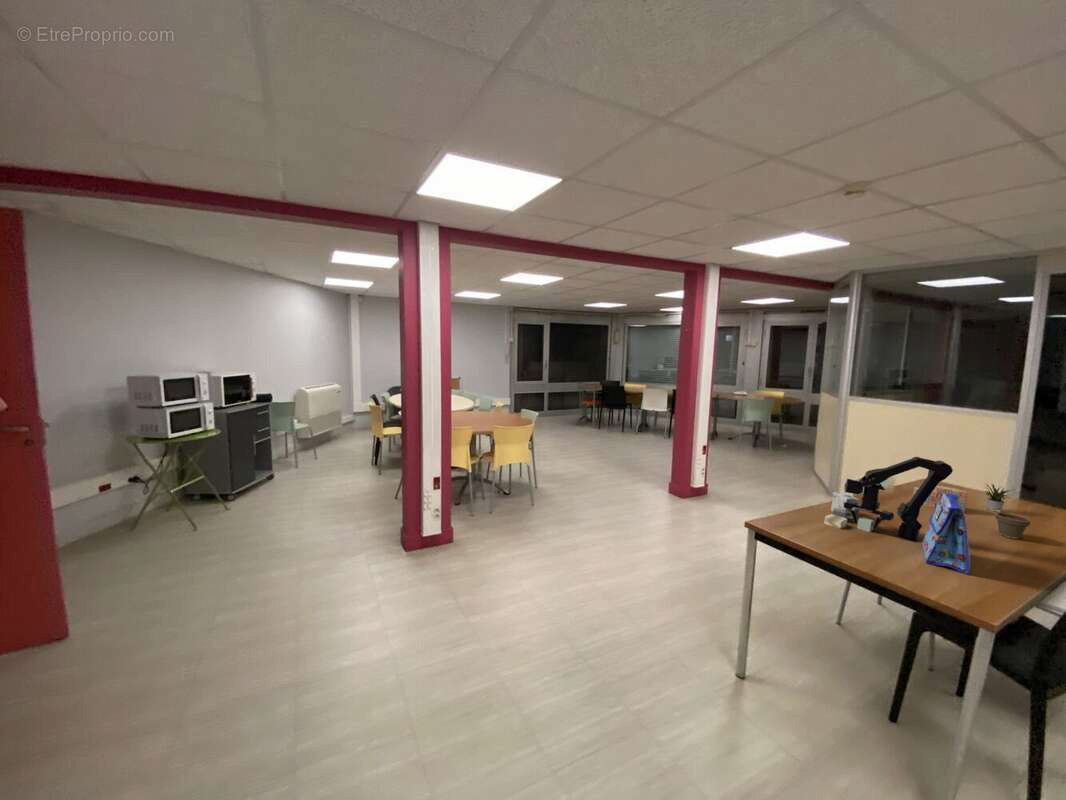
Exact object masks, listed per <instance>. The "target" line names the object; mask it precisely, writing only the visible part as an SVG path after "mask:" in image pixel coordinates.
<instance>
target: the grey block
mask: <svg viewBox="0 0 1066 800" xmlns="http://www.w3.org/2000/svg"><path fill="white" fill-rule="evenodd" d="M845 513H846V510H842V509H838V508H834V510H833V511H832V514H833V515H837V516H840V517H843V518H845Z"/></svg>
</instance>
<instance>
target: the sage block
mask: <svg viewBox="0 0 1066 800" xmlns="http://www.w3.org/2000/svg"><path fill="white" fill-rule="evenodd" d="M875 521H876V519H872V518H868V517H864V516H861V517H858V522H857V526H856V527H857V530H858V529H859V530H862V531H865V532H867V533H870V532H872V531H874V525H875Z"/></svg>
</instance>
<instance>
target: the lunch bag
mask: <svg viewBox="0 0 1066 800" xmlns="http://www.w3.org/2000/svg"><path fill="white" fill-rule="evenodd" d="M958 496H959V495H956V494H952V493H949V494H946V493H943V494H942V497H941V499H940V501H939V503H938V505H937V507H936V508H934V510H933V512H932V513H931V515H930V517H929V526H928V529H927V531H926V533H925V535H924V538H923V541H922V543H921V546H922V550H923V554H924V558H925V559H924V560H925V563H926V564H928V565H930V566H931V565H932V566H933V565H936V566H942V567H946V566H947V567H949V568H951V569H953V570H955V571H958V572H959V573H962V574H964V573H965V574H964V575H969V574H970V569H971V554H970V544H969V543H970V542H969V536H968V529H967V522H966V515H965V511H964V512H963V510H962V508H961V507H960V506H959V504H958V503H957V500H958Z"/></svg>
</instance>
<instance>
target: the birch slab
mask: <svg viewBox="0 0 1066 800" xmlns="http://www.w3.org/2000/svg"><path fill="white" fill-rule="evenodd" d="M823 523H824V525H826V526H827V525H828V526H830V527H833V528H836V529H839V530H841V529H843V528H846V527H847V523H848V518H843V517H840V516H837V515H833V513H831V514H828V515H825V516H824V522H823Z"/></svg>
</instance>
